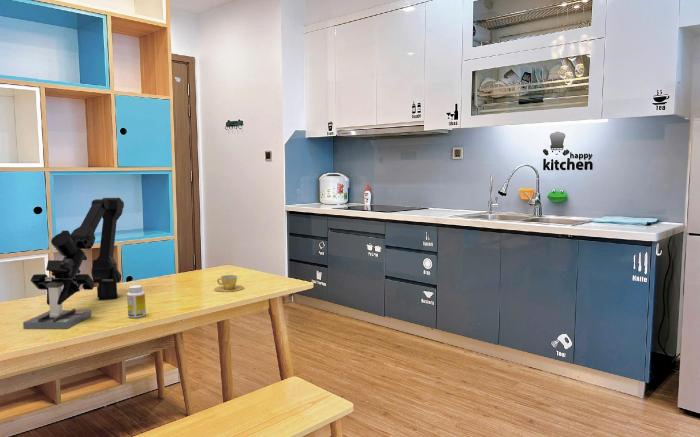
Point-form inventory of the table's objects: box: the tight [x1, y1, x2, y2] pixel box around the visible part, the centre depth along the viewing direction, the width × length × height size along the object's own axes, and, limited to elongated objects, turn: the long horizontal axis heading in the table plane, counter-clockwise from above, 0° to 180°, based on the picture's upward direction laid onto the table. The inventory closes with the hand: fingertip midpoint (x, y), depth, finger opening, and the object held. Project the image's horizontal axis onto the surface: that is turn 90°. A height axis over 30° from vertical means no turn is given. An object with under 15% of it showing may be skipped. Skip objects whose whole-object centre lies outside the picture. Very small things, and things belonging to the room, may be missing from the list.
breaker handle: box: [46, 282, 64, 317], centre depth 165 cm, size 3×4×11 cm
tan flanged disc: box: [214, 274, 245, 293], centre depth 212 cm, size 12×12×5 cm
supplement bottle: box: [126, 284, 147, 319], centre depth 173 cm, size 6×6×10 cm
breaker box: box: [22, 308, 92, 330], centre depth 167 cm, size 14×14×3 cm
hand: (53, 304), depth 164 cm, fingers closed on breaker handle, 3 cm apart
